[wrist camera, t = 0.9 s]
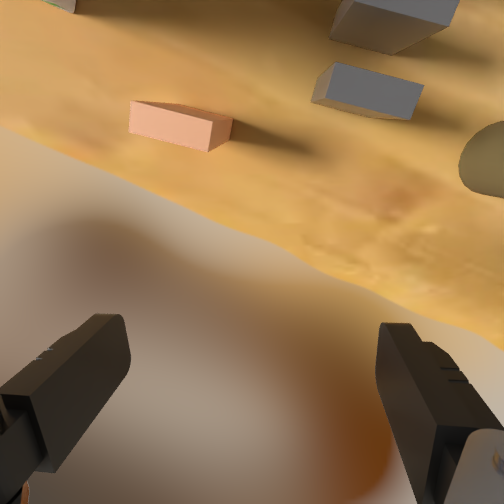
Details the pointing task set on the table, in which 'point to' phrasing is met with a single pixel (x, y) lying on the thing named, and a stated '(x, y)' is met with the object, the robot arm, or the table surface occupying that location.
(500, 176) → the olive green pawn
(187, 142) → the domino
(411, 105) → the domino
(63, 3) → the string lights box
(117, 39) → the table surface
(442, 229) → the table surface
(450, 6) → the domino
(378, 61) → the table surface
